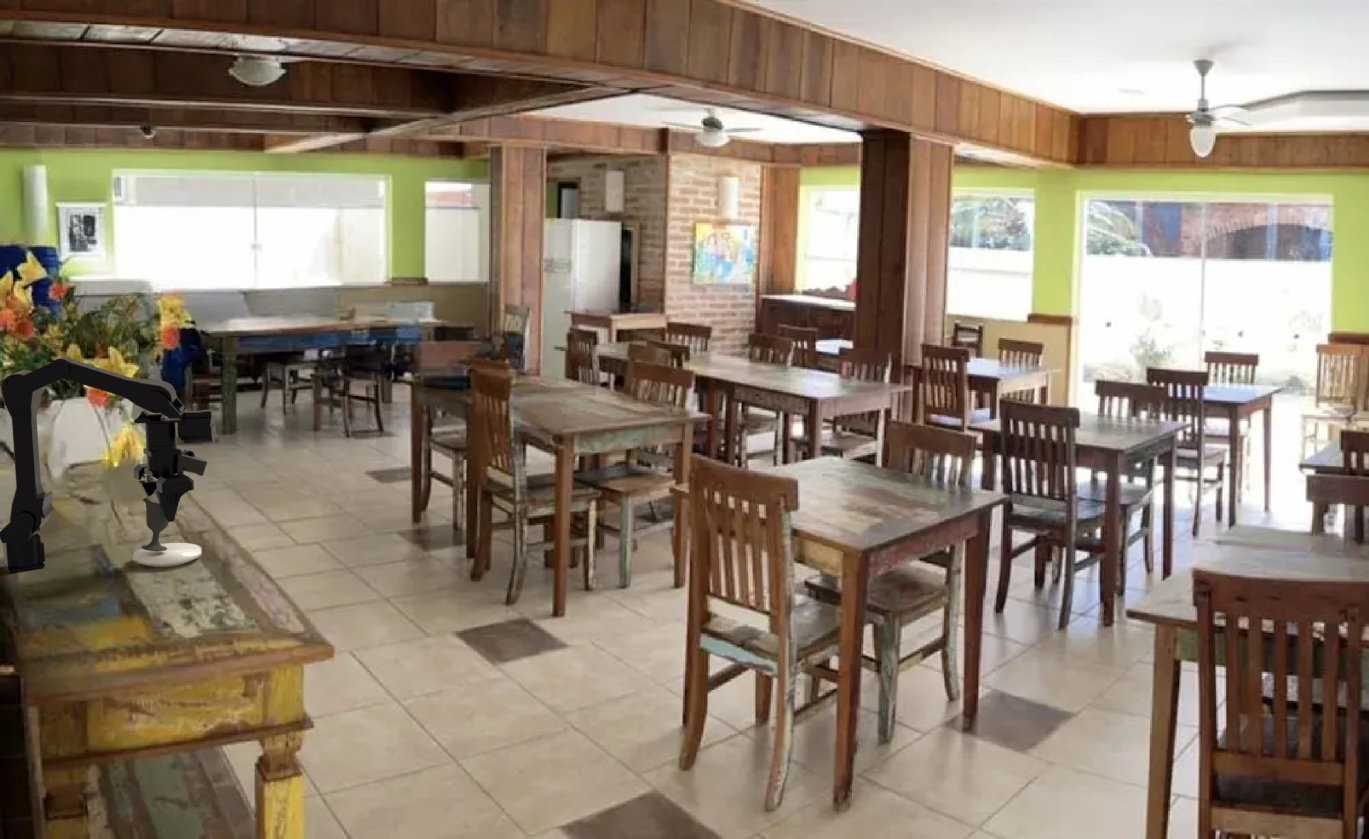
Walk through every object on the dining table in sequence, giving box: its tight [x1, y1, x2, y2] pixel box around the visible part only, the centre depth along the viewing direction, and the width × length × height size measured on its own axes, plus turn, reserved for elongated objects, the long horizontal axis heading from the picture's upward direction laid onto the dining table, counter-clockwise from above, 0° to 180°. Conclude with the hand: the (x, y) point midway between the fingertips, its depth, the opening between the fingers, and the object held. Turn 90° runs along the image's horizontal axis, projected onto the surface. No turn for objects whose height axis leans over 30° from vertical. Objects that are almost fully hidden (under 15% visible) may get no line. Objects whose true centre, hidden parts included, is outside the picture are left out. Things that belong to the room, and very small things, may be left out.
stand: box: [132, 542, 202, 568], centre depth 248 cm, size 13×13×2 cm
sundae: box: [140, 489, 170, 551], centre depth 245 cm, size 7×7×15 cm
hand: (165, 518), depth 246 cm, fingers closed on sundae, 7 cm apart
